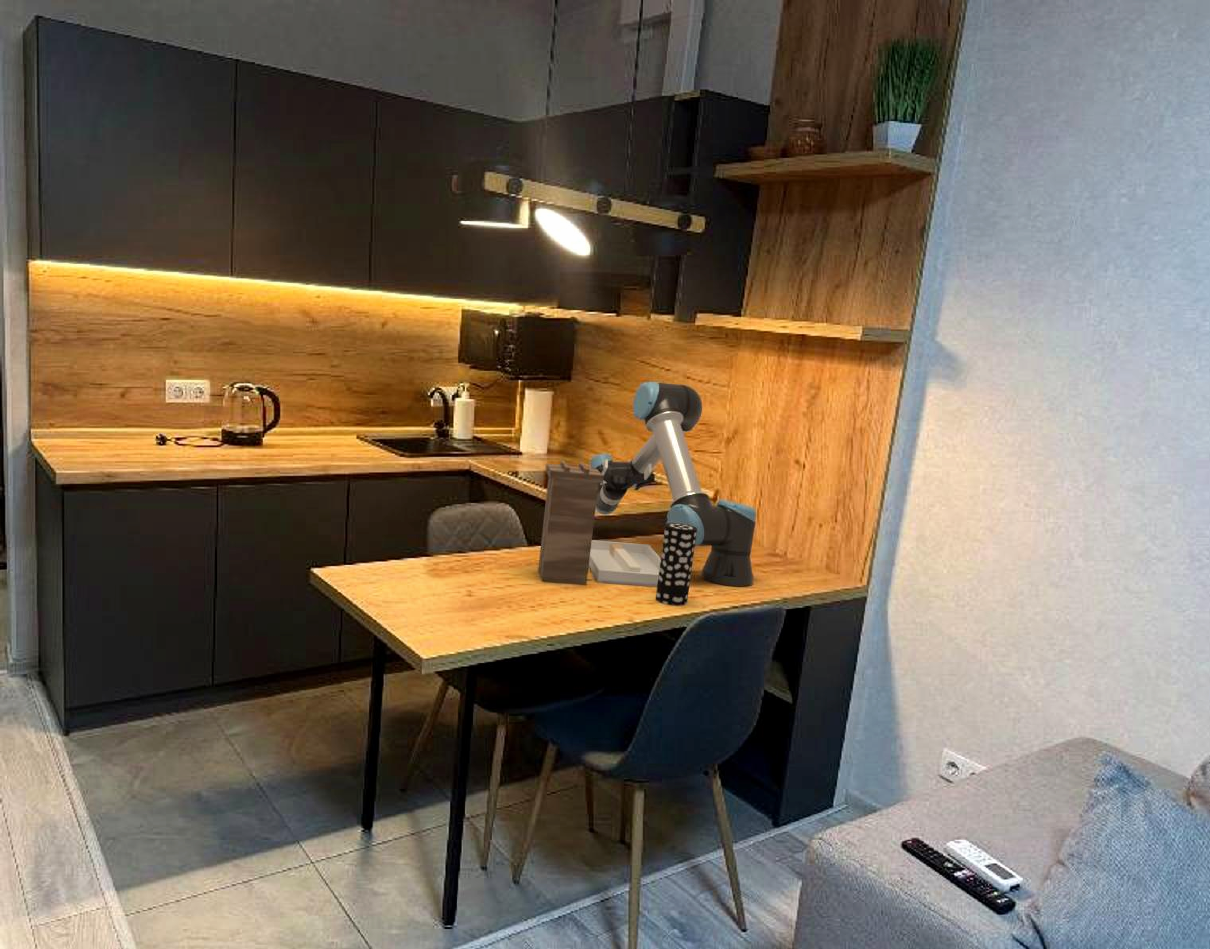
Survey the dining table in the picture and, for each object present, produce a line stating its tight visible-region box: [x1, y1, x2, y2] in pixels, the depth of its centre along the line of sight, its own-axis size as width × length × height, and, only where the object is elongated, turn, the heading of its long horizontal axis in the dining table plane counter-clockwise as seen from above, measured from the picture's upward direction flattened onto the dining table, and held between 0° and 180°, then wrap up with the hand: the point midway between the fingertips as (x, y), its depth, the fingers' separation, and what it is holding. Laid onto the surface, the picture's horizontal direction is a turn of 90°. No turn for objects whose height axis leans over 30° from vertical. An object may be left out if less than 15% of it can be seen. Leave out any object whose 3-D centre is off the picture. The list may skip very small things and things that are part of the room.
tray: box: [588, 539, 661, 588], centre depth 272 cm, size 38×22×4 cm, turn 9°
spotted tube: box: [655, 522, 697, 607], centre depth 241 cm, size 8×8×20 cm
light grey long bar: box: [610, 544, 641, 572], centre depth 272 cm, size 28×3×3 cm, turn 11°
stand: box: [537, 460, 604, 586], centre depth 251 cm, size 13×14×31 cm
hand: (628, 465), depth 279 cm, fingers open, 13 cm apart
